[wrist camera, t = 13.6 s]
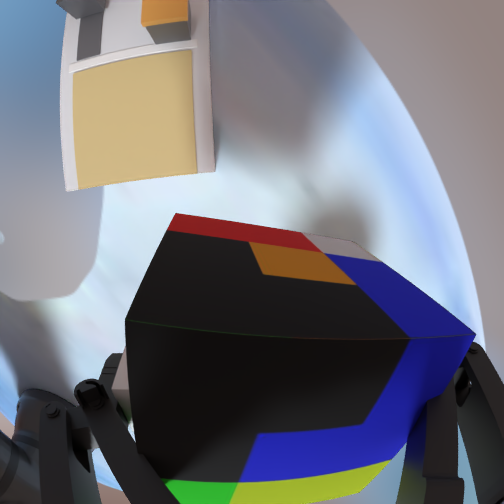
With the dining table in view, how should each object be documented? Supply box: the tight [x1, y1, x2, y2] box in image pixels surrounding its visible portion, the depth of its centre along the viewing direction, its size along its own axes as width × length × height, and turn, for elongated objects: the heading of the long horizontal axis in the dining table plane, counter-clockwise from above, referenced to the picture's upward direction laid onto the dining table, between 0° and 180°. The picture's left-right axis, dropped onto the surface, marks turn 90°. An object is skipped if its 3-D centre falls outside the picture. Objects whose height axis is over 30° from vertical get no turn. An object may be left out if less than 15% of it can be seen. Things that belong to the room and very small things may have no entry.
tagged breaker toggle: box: [141, 0, 191, 45], centre depth 16 cm, size 3×3×5 cm
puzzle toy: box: [125, 213, 476, 504], centre depth 12 cm, size 10×10×10 cm
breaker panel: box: [60, 0, 215, 192], centre depth 21 cm, size 14×21×2 cm, turn 3°
